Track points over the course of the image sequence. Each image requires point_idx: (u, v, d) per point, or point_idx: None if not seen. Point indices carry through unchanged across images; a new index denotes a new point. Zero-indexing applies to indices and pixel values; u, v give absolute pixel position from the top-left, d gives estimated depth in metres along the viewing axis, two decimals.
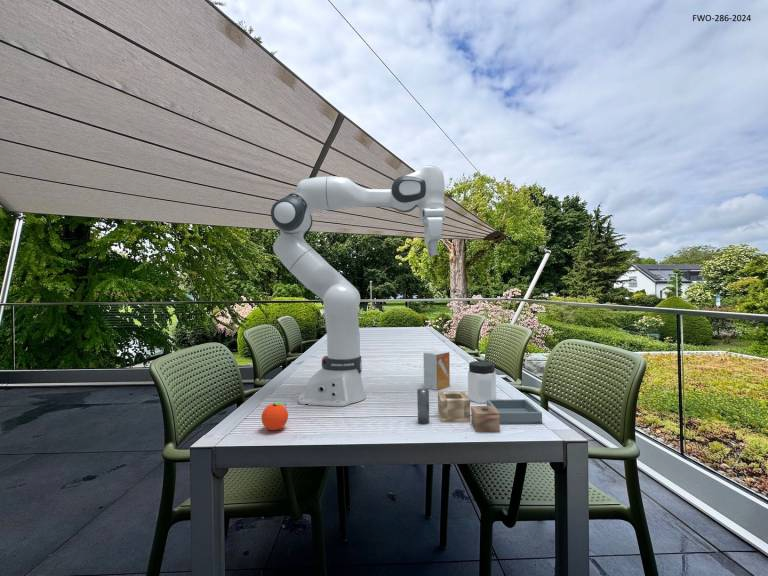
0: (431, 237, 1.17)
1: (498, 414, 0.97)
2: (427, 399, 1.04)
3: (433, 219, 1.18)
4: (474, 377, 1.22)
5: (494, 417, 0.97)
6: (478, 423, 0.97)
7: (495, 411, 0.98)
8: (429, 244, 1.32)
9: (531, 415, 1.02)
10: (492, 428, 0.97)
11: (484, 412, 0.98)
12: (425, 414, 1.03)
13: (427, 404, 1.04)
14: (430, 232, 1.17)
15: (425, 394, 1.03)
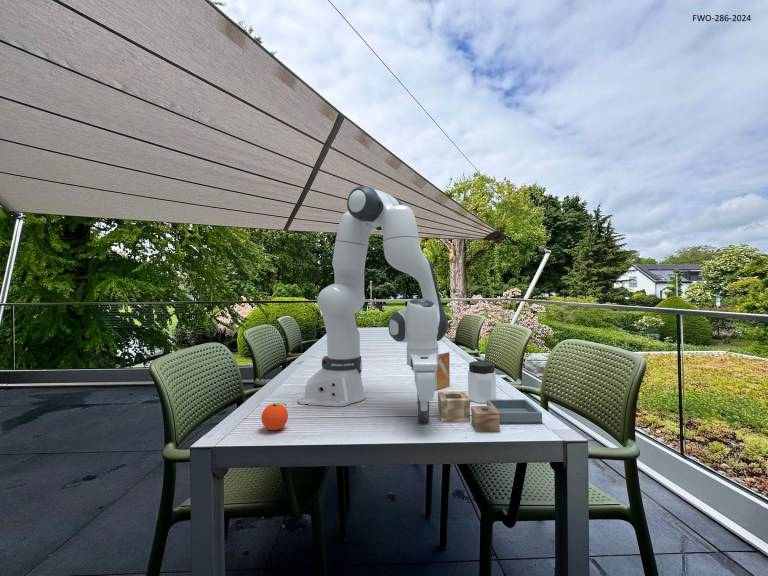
0: (421, 399, 0.95)
1: (498, 414, 0.97)
2: None
3: (423, 377, 0.95)
4: (474, 377, 1.22)
5: (494, 417, 0.97)
6: (478, 423, 0.97)
7: (495, 411, 0.98)
8: None
9: (531, 415, 1.02)
10: (492, 428, 0.97)
11: (484, 412, 0.98)
12: (425, 414, 1.03)
13: None
14: (419, 394, 0.95)
15: None
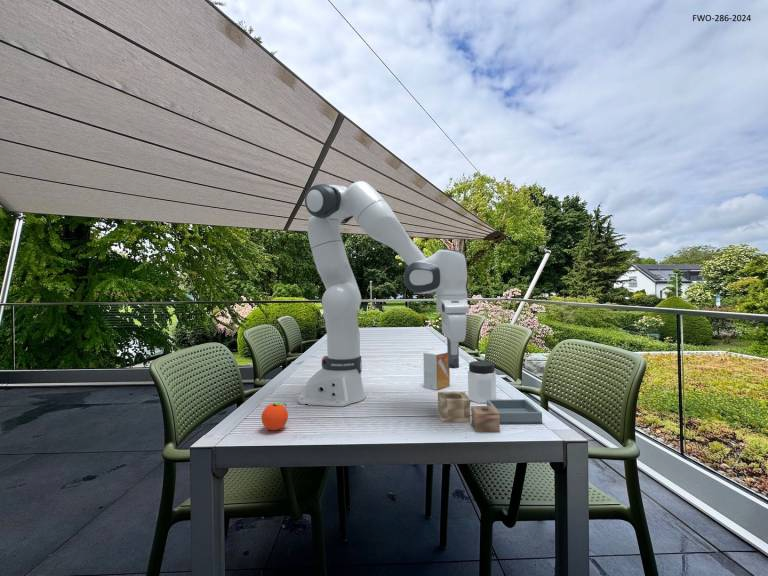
0: (453, 340, 0.99)
1: (498, 414, 0.97)
2: None
3: (455, 318, 0.99)
4: (474, 377, 1.22)
5: (494, 417, 0.97)
6: (478, 423, 0.97)
7: (495, 411, 0.98)
8: None
9: (531, 415, 1.02)
10: (492, 428, 0.97)
11: (484, 412, 0.98)
12: (455, 358, 1.07)
13: None
14: (452, 334, 0.98)
15: None
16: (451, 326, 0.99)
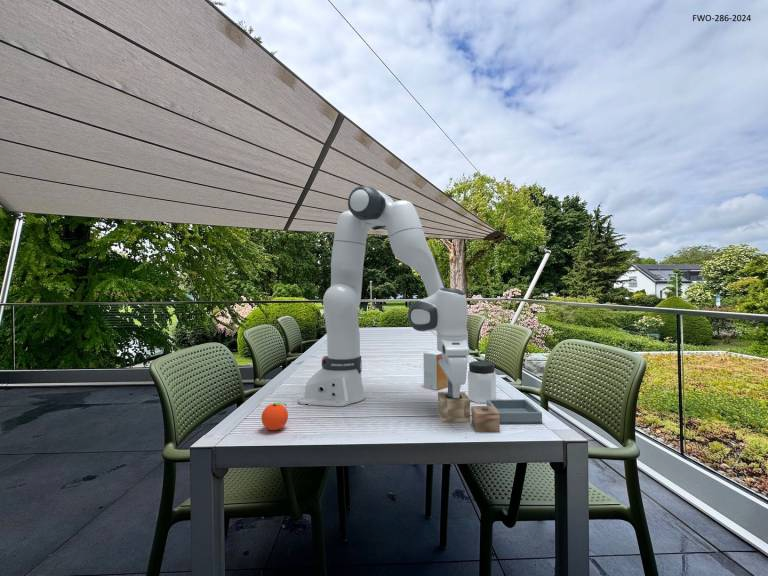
0: (453, 383, 0.99)
1: (498, 414, 0.97)
2: None
3: (456, 361, 0.99)
4: (474, 377, 1.22)
5: (494, 417, 0.97)
6: (478, 423, 0.97)
7: (495, 411, 0.98)
8: None
9: (531, 415, 1.02)
10: (491, 428, 0.97)
11: (484, 412, 0.98)
12: None
13: None
14: (452, 377, 0.99)
15: None
16: (452, 369, 0.99)
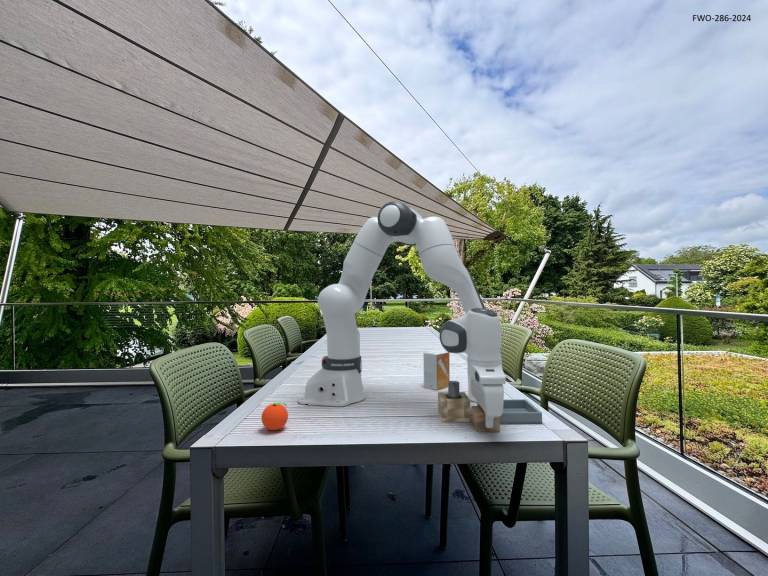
0: (489, 415, 0.90)
1: None
2: (458, 391, 1.07)
3: (492, 391, 0.90)
4: None
5: (494, 417, 0.97)
6: (478, 423, 0.97)
7: None
8: None
9: (531, 415, 1.02)
10: (492, 428, 0.97)
11: (484, 412, 0.98)
12: None
13: (458, 396, 1.07)
14: (488, 409, 0.90)
15: (456, 386, 1.07)
16: (487, 400, 0.90)
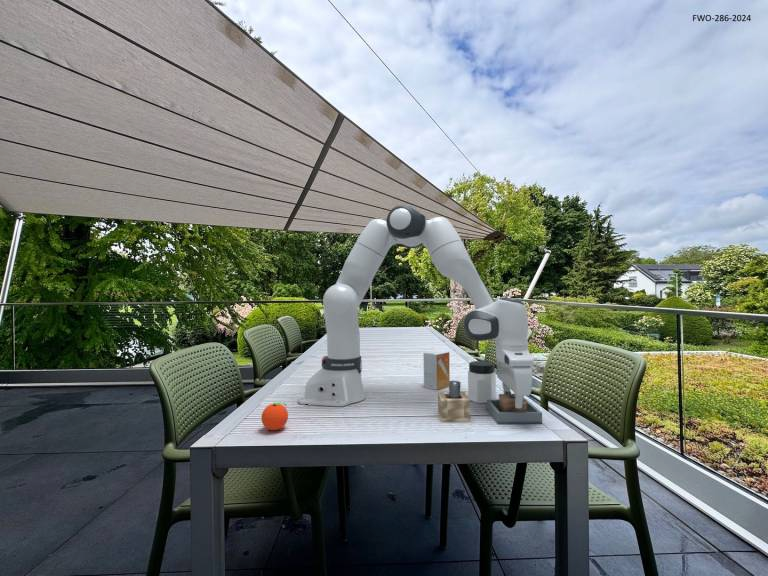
0: (519, 394, 0.98)
1: (525, 400, 1.05)
2: (459, 391, 1.08)
3: (521, 372, 0.99)
4: (474, 377, 1.22)
5: (522, 403, 1.05)
6: (507, 409, 1.05)
7: None
8: None
9: (531, 415, 1.02)
10: None
11: (512, 399, 1.06)
12: None
13: (459, 395, 1.08)
14: (518, 388, 0.98)
15: (458, 386, 1.07)
16: (517, 380, 0.98)
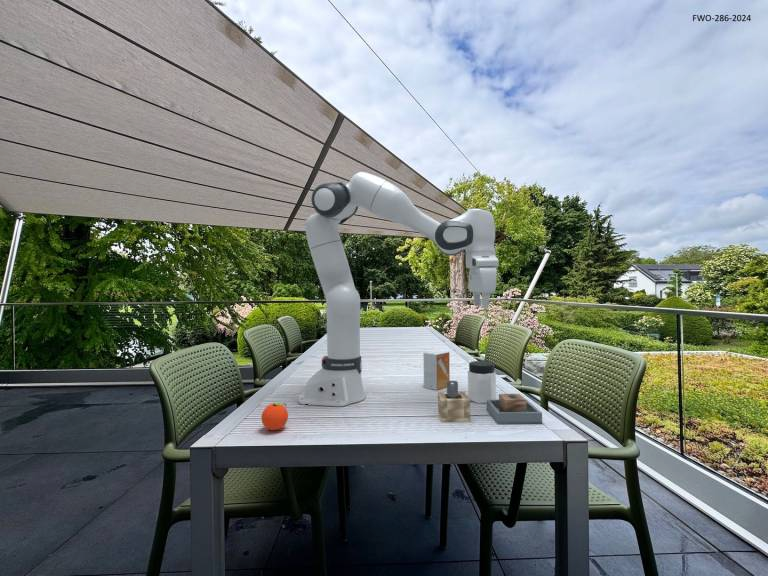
0: (484, 291, 1.05)
1: (525, 400, 1.05)
2: (457, 390, 1.08)
3: (486, 271, 1.06)
4: (474, 377, 1.22)
5: (522, 403, 1.05)
6: (507, 409, 1.05)
7: (522, 398, 1.06)
8: (475, 292, 1.20)
9: (531, 415, 1.02)
10: None
11: (512, 399, 1.06)
12: None
13: None
14: (483, 285, 1.05)
15: (456, 386, 1.07)
16: (482, 278, 1.05)
